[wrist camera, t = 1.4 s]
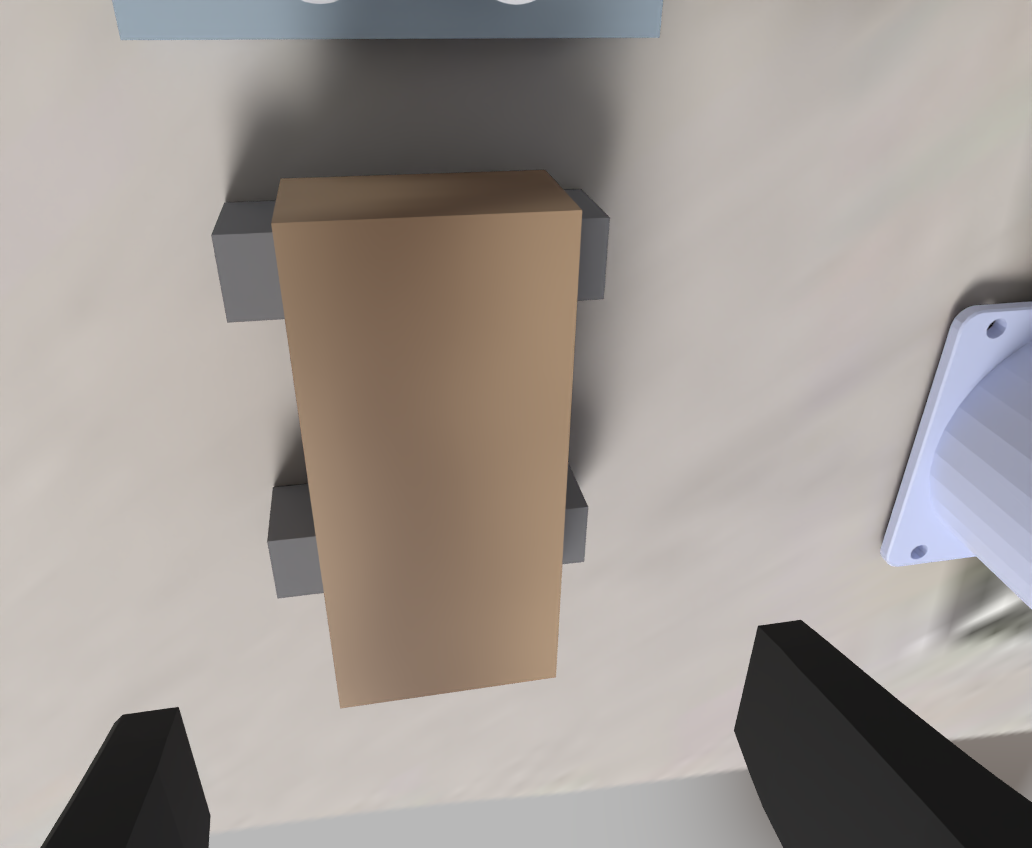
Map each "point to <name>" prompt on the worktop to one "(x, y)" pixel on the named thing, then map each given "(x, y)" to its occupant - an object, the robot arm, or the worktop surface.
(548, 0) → the peg base
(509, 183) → the shelf board
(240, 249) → the board rack
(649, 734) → the worktop surface
